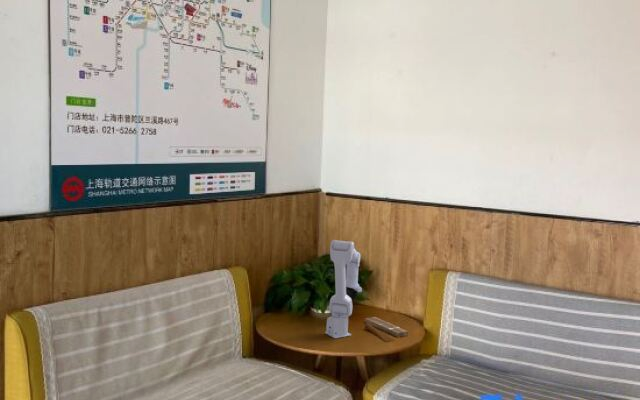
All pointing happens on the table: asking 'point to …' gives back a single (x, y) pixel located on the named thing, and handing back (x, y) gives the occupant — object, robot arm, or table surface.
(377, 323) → the walnut plank
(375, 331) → the primitive tool
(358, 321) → the table surface
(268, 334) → the table surface
